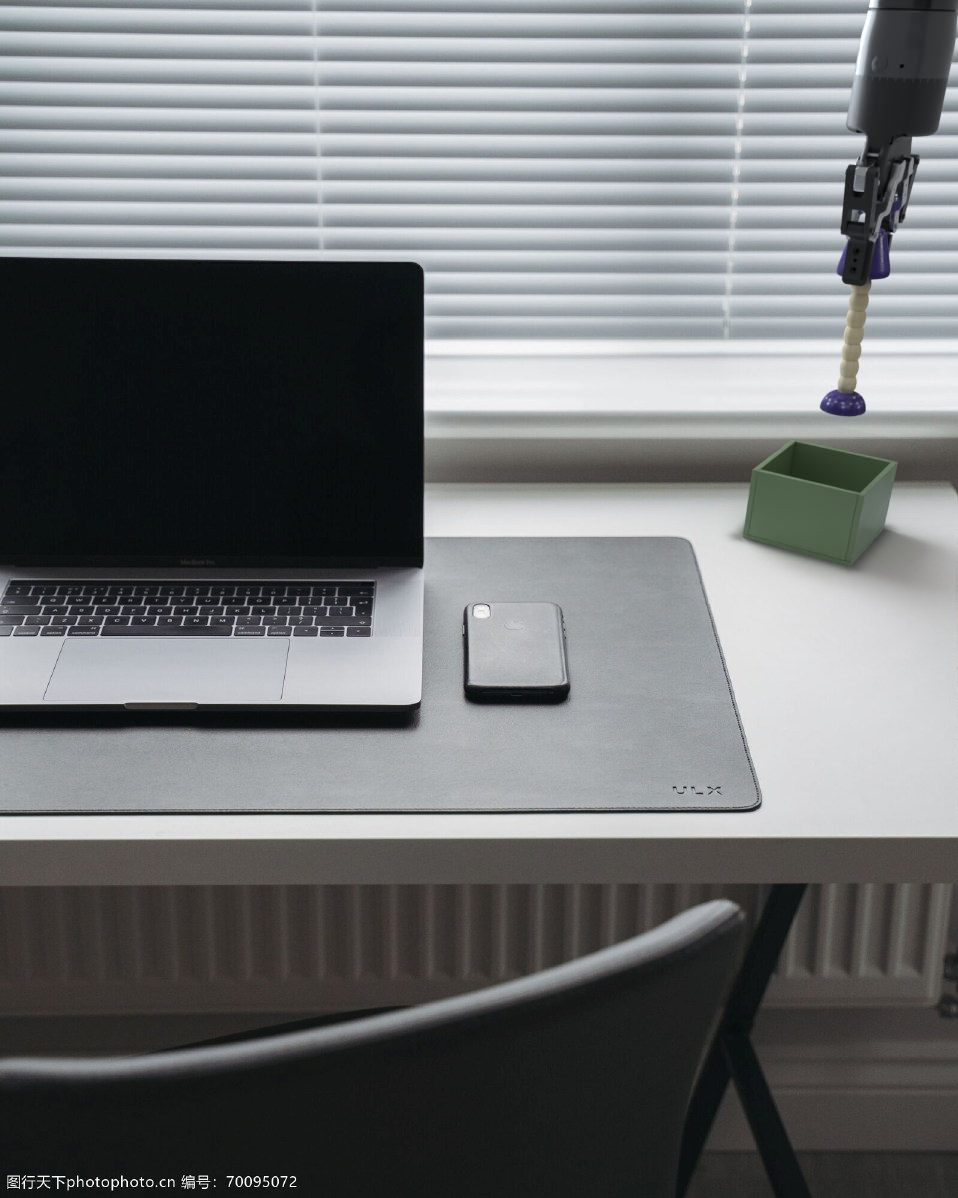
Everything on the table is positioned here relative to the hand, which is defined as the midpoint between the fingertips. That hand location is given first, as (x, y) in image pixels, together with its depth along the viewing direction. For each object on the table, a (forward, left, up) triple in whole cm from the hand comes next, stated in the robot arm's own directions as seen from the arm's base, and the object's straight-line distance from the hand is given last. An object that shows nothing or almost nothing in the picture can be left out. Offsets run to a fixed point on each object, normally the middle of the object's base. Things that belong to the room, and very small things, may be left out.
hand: (863, 278), depth 100 cm
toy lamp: (0, 0, -13) cm, 13 cm away
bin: (+1, -2, -27) cm, 27 cm away
